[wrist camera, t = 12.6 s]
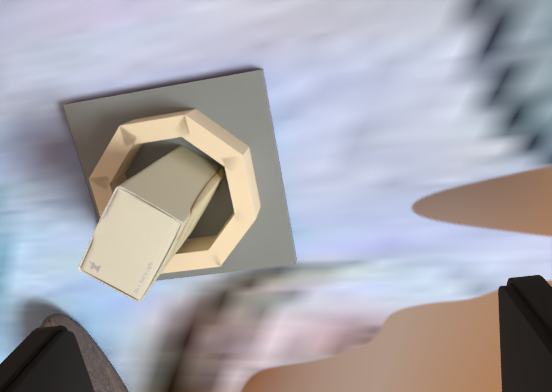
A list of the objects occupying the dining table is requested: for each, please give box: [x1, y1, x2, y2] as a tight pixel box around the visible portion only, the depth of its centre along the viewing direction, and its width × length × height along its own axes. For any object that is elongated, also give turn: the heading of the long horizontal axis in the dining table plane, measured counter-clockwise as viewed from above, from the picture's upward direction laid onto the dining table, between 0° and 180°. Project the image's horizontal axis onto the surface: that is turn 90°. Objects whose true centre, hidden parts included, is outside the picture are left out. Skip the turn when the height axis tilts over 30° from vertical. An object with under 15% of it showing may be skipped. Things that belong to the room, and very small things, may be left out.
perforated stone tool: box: [41, 314, 128, 392], centre depth 43 cm, size 15×5×7 cm, turn 20°
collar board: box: [63, 69, 297, 280], centre depth 38 cm, size 16×16×4 cm
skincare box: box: [78, 145, 226, 302], centre depth 33 cm, size 6×4×12 cm
